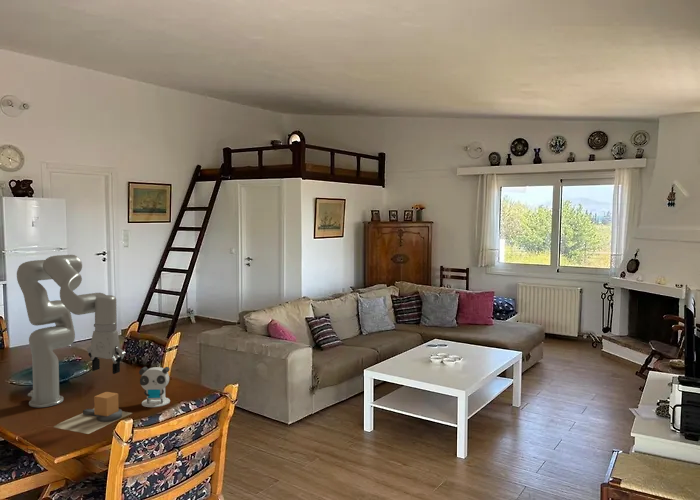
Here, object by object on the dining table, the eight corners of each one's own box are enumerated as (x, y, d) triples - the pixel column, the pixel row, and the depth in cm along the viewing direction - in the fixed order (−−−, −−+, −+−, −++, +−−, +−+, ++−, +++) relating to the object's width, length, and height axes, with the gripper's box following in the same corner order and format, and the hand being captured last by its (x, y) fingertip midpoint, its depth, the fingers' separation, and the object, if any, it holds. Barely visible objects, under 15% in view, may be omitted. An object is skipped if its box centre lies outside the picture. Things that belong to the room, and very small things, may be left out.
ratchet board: (50, 430, 196) (50, 410, 196) (97, 410, 217) (97, 392, 216) (88, 438, 190) (88, 417, 190) (132, 416, 211) (132, 398, 210)
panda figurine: (135, 407, 219) (135, 371, 218) (146, 397, 231) (145, 363, 230) (164, 407, 219) (164, 371, 219) (173, 398, 231) (173, 364, 230)
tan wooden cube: (94, 414, 204) (94, 396, 203) (106, 409, 209) (106, 391, 209) (106, 416, 202) (106, 398, 201) (118, 411, 207) (118, 393, 207)
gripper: (80, 327, 203) (80, 371, 204) (117, 331, 197) (117, 376, 199) (95, 323, 210) (95, 366, 211) (131, 327, 204) (131, 371, 206)
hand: (105, 371), depth 205 cm, fingers open, 9 cm apart
